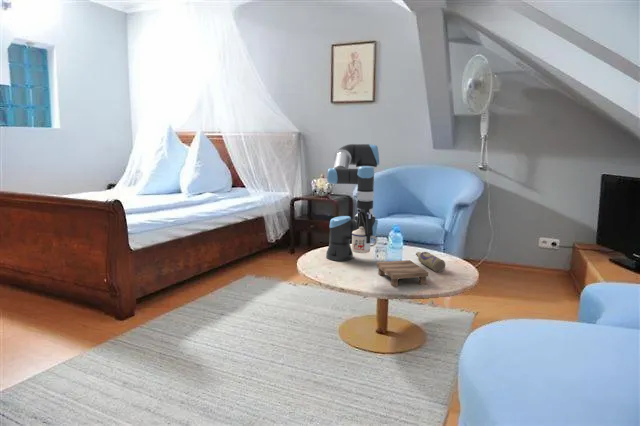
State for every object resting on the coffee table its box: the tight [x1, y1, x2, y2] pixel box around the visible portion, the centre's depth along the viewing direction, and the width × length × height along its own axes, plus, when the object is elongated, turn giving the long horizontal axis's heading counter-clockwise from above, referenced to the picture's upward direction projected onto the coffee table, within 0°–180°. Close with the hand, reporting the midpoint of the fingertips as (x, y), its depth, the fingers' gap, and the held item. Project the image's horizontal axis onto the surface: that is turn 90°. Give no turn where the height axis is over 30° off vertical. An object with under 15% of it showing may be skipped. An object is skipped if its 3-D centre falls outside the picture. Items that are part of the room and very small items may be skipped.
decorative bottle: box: [415, 251, 446, 273], centre depth 232 cm, size 26×8×7 cm, turn 13°
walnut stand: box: [376, 259, 430, 287], centre depth 209 cm, size 20×18×6 cm
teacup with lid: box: [351, 227, 378, 254], centre depth 203 cm, size 12×9×12 cm
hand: (363, 246), depth 204 cm, fingers closed on teacup with lid, 9 cm apart
